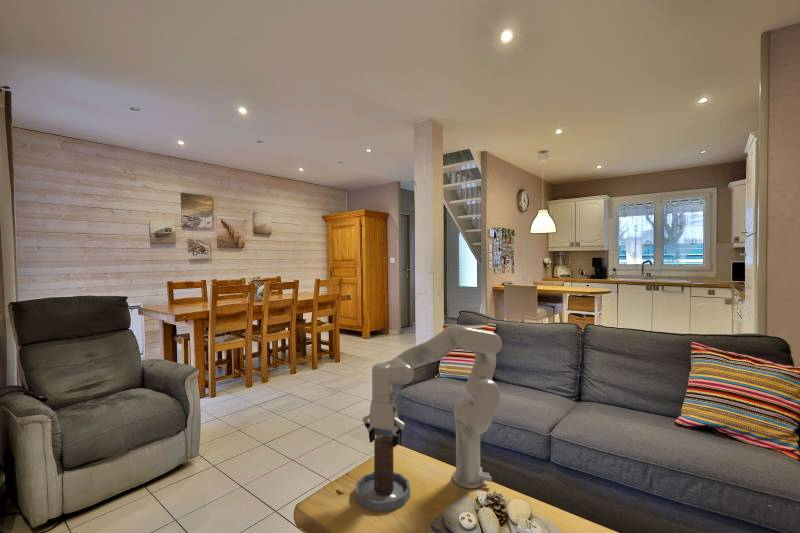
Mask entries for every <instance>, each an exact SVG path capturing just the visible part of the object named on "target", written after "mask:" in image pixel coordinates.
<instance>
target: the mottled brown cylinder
mask: <svg viewBox="0 0 800 533" xmlns="http://www.w3.org/2000/svg"><path fill="white" fill-rule="evenodd" d="M393 436H394V435H391V434H383V435H382V434H380V435H379V434H378V435H377V436H375V440H374V441H373V442H374V446H373V447H374V451H373V452H374V456H373V458H374V459H373V460H374V466H373V469H374V470H373V472H374V490H375V492H377V493H381V494H387V493H390V492H392V491H393V490H394V471H395V470H394V447H393Z"/></svg>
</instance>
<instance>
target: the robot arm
mask: <svg viewBox="0 0 800 533" xmlns="http://www.w3.org/2000/svg"><path fill="white" fill-rule="evenodd" d="M502 346H503V342H502V339H501V337H500V335H498V334H496V333H495V332H492V331H489V330H487V329H482V328H475V329H474V328H470V327H467V326H464V325H461V324H456V323H455V324H451V325H449V326H448V327H447V328H445V329H443V330H442V331H441V332H439V333H437V334H436V335H434V336H433V337H432V338H429V340H426V341H424V342H422V343H420V344H418V345H415V346H413V347H410V348H408V349H406V350H404V351H402V352H401V353H400V354H399V355H397V356H396V357H394V358H393V359H392V360H391V361H390V362H389V363H385V362H379V363H378V362H377V363H375V364H374V365H373V366H372V368H371V372H372V373H371V374H372V375H371V376H372V377H371V379H372V380H371V382H372V399H371V401H370V407H369V414H367V415H365V416H364V417H362V421H363V423H364V426H365V428H366V429H367V432H368V439H369V443H373V442H374V440H375V438H376V429H380V430H384V431H391V433H392V436H393V448H396V447H397V446H398V445H399V443H400V438H399V436H400V435H399V434H400V433H401V432H402V431H403V430H404V428H405V426H406V424H405V422H403V421H402V420H400V419H399V416H398V415H399V414H398V410H397V403H396V398H397V396H396V395H394V391H393V385H407V384H410V383H411V382H412V381H413V380H414V377H415V371H414V369H413V368H414V367H417V366H418V365H420V364H423V363H433V362H438V361H440V360H442V359H443V358H444V357H446V356H447V355H449V354H450V353H452V352H453V351H455V350H456V349H460V350H463V351H467V352H470V353H471V352H472V353H474V356H475V358H474V361H473V365H472V367H471V371H470V373H469V376H468V378H467V381H466V385H465V389H466V392H467V393H468V395H470V396H471V397H472V398H473V399H474V400H473V399H471V398H468V397H463V398H460V399H458V400H457V401H456V403H455V405H454V408H453V418H454V424H455V425H454V426H455V466H456V467H455V470H454V471H453V472H452V475H451V478H452V481H453V483H454V484H456V486H458V487H461V488H464V489H478V488H481V487H482V486H483V485H485V484H484V483H485V481H486V482H489V483H492V478H493V477H492V476H490V475H491V474H490V473H489V472H484V471H483V467H481V435H482V434H483V433H485V432H487V431H488V430H489V428H490V426H491V424H492V422H493V420H494V416H495V413H496V411H497V408H498V406H499V403H500V399H501V392H500V387H499V385H498V384H497V383H496V382H495V381H493V380H492V379H493V377H494V373H495V370H496V367H497V354H498V353H499V352H500V351H501V349H502ZM397 426H399V427H397Z"/></svg>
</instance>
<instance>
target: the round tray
mask: <svg viewBox="0 0 800 533" xmlns="http://www.w3.org/2000/svg"><path fill="white" fill-rule="evenodd" d="M410 498H411V485H410V481H409V479H408V478H406V477H405V476H404V475H403V474H402V473H399V472H394V490H393V491H392V492H390V493H387V494H381V493H377V492H375V490H374V471H373V472H369V473H367V474H365V475H363V476H362V477H361V478H359V480H357V482H356V483H355V501H356V502H357V503H358V504H359V505H360V506H361V507H362V509H365V510H369V511H372V512H376V513H381V512H393V511H395V510H398V509H399V508H401V507H403V506H405V505H406V504H407V502H408V501H409V499H410Z"/></svg>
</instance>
